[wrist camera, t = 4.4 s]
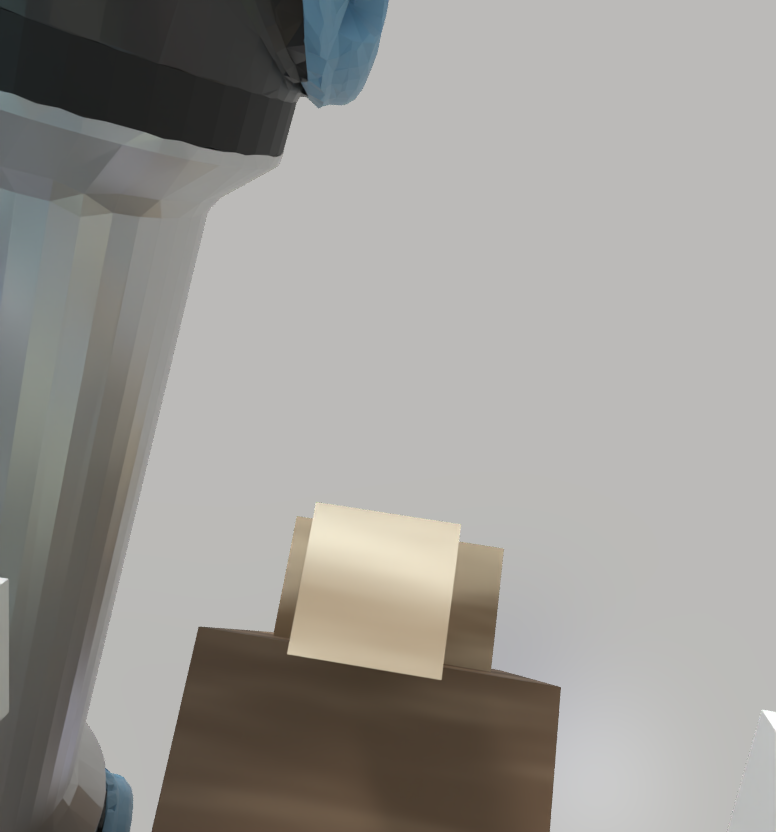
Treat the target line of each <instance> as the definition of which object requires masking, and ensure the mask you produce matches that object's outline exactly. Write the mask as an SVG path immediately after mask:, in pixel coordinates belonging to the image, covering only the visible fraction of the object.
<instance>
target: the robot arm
mask: <svg viewBox="0 0 776 832" xmlns="http://www.w3.org/2000/svg"><path fill="white" fill-rule="evenodd" d="M387 7H388V0H0V832H130V826H131V821H132V810H133V794H132V790H131V787H130V785H129V784H128V783H127V782H126V780H125V778H124V777H122V776H120V775H118V774H112V773H110V772H109V771H108V770H107V769H106V768H105V761H104V758H103V754H102V750H101V747H100V745H99V743H98V741H97V739H96V737H95V735H94V733H93V732H92V730H91V729H90V727H89V726H88V724H87V723H86V717H87V713H88V710H89V705H90V701H91V697H92V693H93V689H94V684H95V680H96V676H97V672H98V667H99V664H100V659H101V655H102V651H103V647H104V643H105V638H106V634H107V630H108V626H109V622H110V618H111V613H112V609H113V605H114V600H115V596H116V592H117V588H118V584H119V580H120V576H121V571H122V567H123V563H124V559H125V555H126V550H127V547H128V542H129V538H130V534H131V530H132V526H133V521H134V517H135V513H136V509H137V505H138V501H139V496H140V492H141V488H142V484H143V479H144V475H145V471H146V467H147V463H148V459H149V455H150V450H151V446H152V442H153V438H154V433H155V429H156V425H157V421H158V417H159V413H160V409H161V404H162V400H163V396H164V392H165V388H166V383H167V379H168V375H169V371H170V367H171V362H172V358H173V354H174V350H175V346H176V342H177V337H178V333H179V329H180V325H181V320H182V317H183V312H184V308H185V304H186V300H187V296H188V292H189V287H190V283H191V279H192V275H193V271H194V267H195V262H196V258H197V254H198V250H199V246H200V242H201V238H202V233H203V229H204V225H205V221H206V217H207V213H208V211H209V210H210V208H211V207H212V206H213V205H214V204H215V203H216V202H217V201H218V200H219V199H220V198H221V197H223V196H225V195H226V194H228V193H230V192H232V191H234V190H236V189H238V188H239V187H241V186H243V185H245V184H246V183H248V182H250V181H252V180H254V179H256V178H258V177H260V176H261V175H263V174H265V173H267V172H269V171H270V170H272V169H274V168H276V167H277V166H278V165H279V164H280V161H281V158H282V155H283V150H284V146H285V143H286V139H287V135H288V132H289V128H290V124H291V121H292V117H293V114H294V110H295V105H296V103H297V101H298V99H299V97H307V98H309V100H310V101H312V103H313V104H315V105H316V106H317V107H318V108H320V107H322V106H326V105H345V104H348V103H349V102H351V101H353V100H354V99H355V98H356V97H357V96H358V94H359V93H360V92H361V90H362V89H363V87H364V85H365V83H366V80H367V78H368V76H369V73H370V71H371V68H372V66H373V63H374V60H375V58H376V55H377V52H378V47H379V42H380V37H381V32H382V29H383V25H384V21H385V17H386V12H387ZM727 832H776V712H772V711H766V710H762V711H761V714H760V718H759V721H758V724H757V728H756V731H755V735H754V739H753V742H752V746H751V749H750V753H749V756H748V759H747V763H746V767H745V770H744V773H743V777H742V780H741V784H740V787H739V791H738V794H737V797H736V801H735V805H734V808H733V811H732V815H731V818H730V822H729V825H728V829H727Z"/></svg>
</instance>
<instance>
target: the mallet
mask: <svg viewBox="0 0 776 832" xmlns="http://www.w3.org/2000/svg"><path fill="white" fill-rule="evenodd" d="M460 529H461V524H455V523H448V522H442V521H435V520H429V519H423V518H416V517H410V516H403V515H397V514H391V513H383V512H377V511H371V510H364V509H358V508H352V507H345V506H339V505H332V504H326V503H320V502H316V505H315V510H314V516H313V519H312V518H305V517H299V516H297V518H296V524H295V528H294V534H293V539H292V544H291V549H290V554H289V559H288V564H287V569H286V574H285V579H284V584H283V589H282V594H281V600H280V604H279V609H278V614H277V619H276V624H275V630H274V634H273V636H279V637H285V638H290V641H289V646H288V652H287V654H289V655H295V656H301V657H307V658H313V659H319V660H325V661H331V662H337V663H343V664H349V665H355V666H361V667H367V668H372V669H378V670H384V671H390V672H396V673H402V674H408V675H414V676H420V677H426V678H432V679H438V680H442V672H443V664H447V665H453V666H459V667H465V668H471V669H477V670H483V671H489V672H491V664H492V655H493V646H494V637H495V627H496V618H497V609H498V598H499V590H500V580H501V570H502V562H503V552H504V549H503V548H497V547H490V546H484V545H477V544H471V543H464V542H459V537H460Z"/></svg>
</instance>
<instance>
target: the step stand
mask: <svg viewBox="0 0 776 832" xmlns="http://www.w3.org/2000/svg"><path fill="white" fill-rule="evenodd" d="M273 634H274V633H273V632H262V631H250V630H237V629H224V628H210V627H199V628H198V632H197V637H196V641H195V645H194V650H193V654H192V658H191V663H190V667H189V672H188V676H187V680H186V685H185V689H184V693H183V697H182V702H181V706H180V711H179V715H178V720H177V724H176V728H175V732H174V737H173V741H172V745H171V750H170V754H169V759H168V763H167V767H166V772H165V776H164V780H163V784H162V789H161V794H160V798H159V802H158V806H157V810H156V815H155V819H154V824H153V828H152V832H550V819H551V807H552V794H553V781H554V768H555V755H556V743H557V730H558V717H559V703H560V690H561V687H558V686H554V685H551V684H547V683H544V682H540V681H537V680H533V679H529V678H526V677H522V676H518V675H515V674H511V673H507V672H504V671H500V670H495V669H491V672H489V671H483V670H477V669H471V668H465V667H459V666H453V665H447V664H443V672H442V680H438V679H432V678H426V677H420V676H414V675H408V674H402V673H396V672H390V671H384V670H378V669H372V668H367V667H361V666H355V665H349V664H343V663H337V662H331V661H325V660H319V659H313V658H307V657H301V656H295V655H289V654H287V652H288V646H289V641H290V638H285V637H279V636H273Z"/></svg>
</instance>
